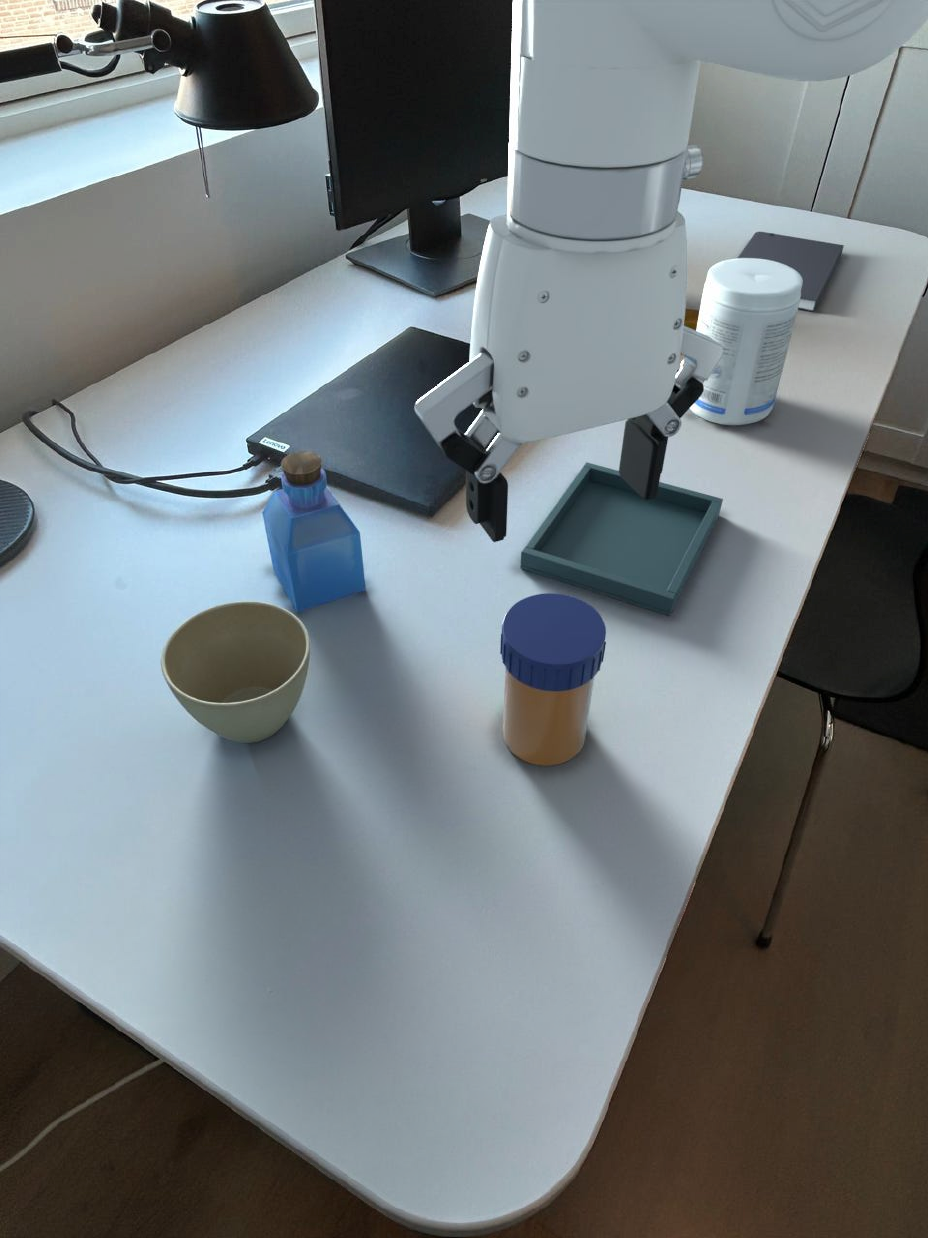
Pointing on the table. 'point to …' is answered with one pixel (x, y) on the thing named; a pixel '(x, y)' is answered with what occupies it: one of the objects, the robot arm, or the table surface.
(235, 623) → the flower pot
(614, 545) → the tray
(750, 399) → the supplement tub
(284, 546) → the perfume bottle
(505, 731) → the jar
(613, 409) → the robot arm
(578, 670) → the lid
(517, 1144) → the table surface
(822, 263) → the notebook
